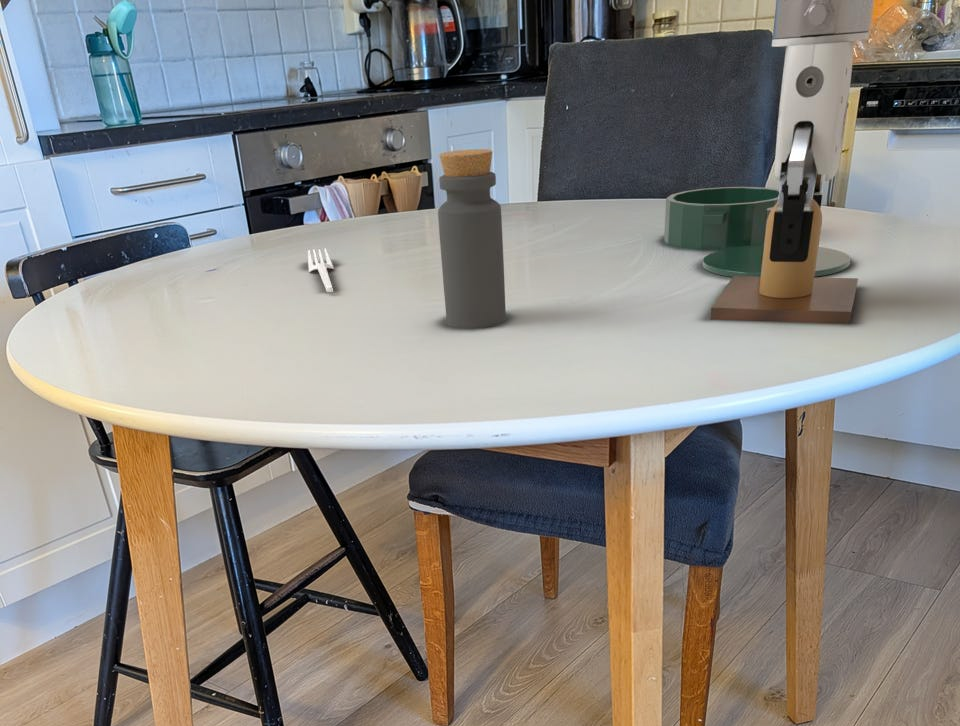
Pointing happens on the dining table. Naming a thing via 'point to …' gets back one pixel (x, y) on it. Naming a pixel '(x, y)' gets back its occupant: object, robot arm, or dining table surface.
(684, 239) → the pot
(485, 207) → the bottle
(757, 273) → the lid
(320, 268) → the fork
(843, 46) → the robot arm
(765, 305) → the board
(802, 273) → the tan domed cylinder
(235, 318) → the dining table surface
